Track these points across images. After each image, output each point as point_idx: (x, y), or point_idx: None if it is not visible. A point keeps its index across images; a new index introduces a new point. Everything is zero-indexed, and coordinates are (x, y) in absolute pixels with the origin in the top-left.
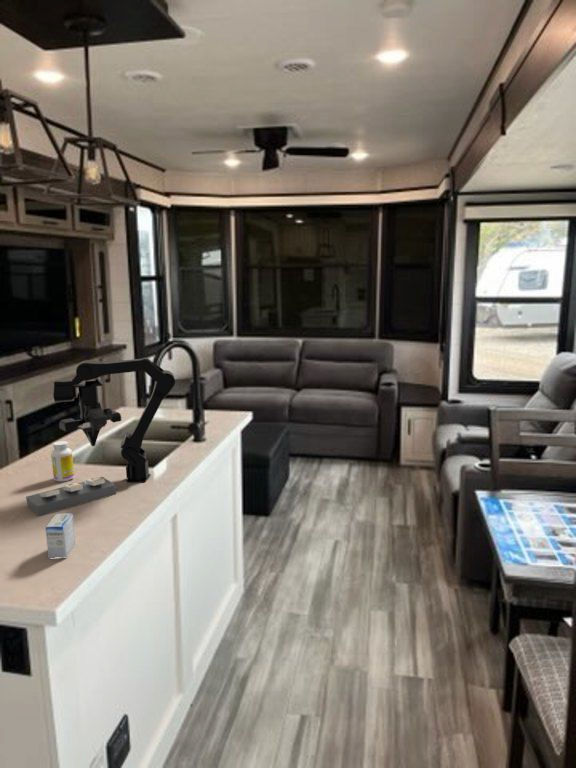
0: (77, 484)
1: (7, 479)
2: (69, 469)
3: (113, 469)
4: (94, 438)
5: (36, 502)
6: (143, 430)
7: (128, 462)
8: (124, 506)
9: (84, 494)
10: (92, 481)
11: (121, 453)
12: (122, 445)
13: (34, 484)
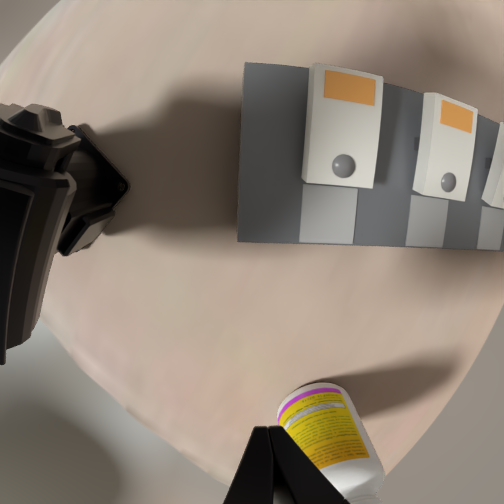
0: (439, 138)
1: (399, 459)
2: (319, 413)
3: (123, 377)
4: (270, 491)
5: None
6: None
7: (75, 140)
8: None
9: (407, 90)
10: (378, 97)
11: (66, 182)
12: (2, 189)
13: (395, 407)
